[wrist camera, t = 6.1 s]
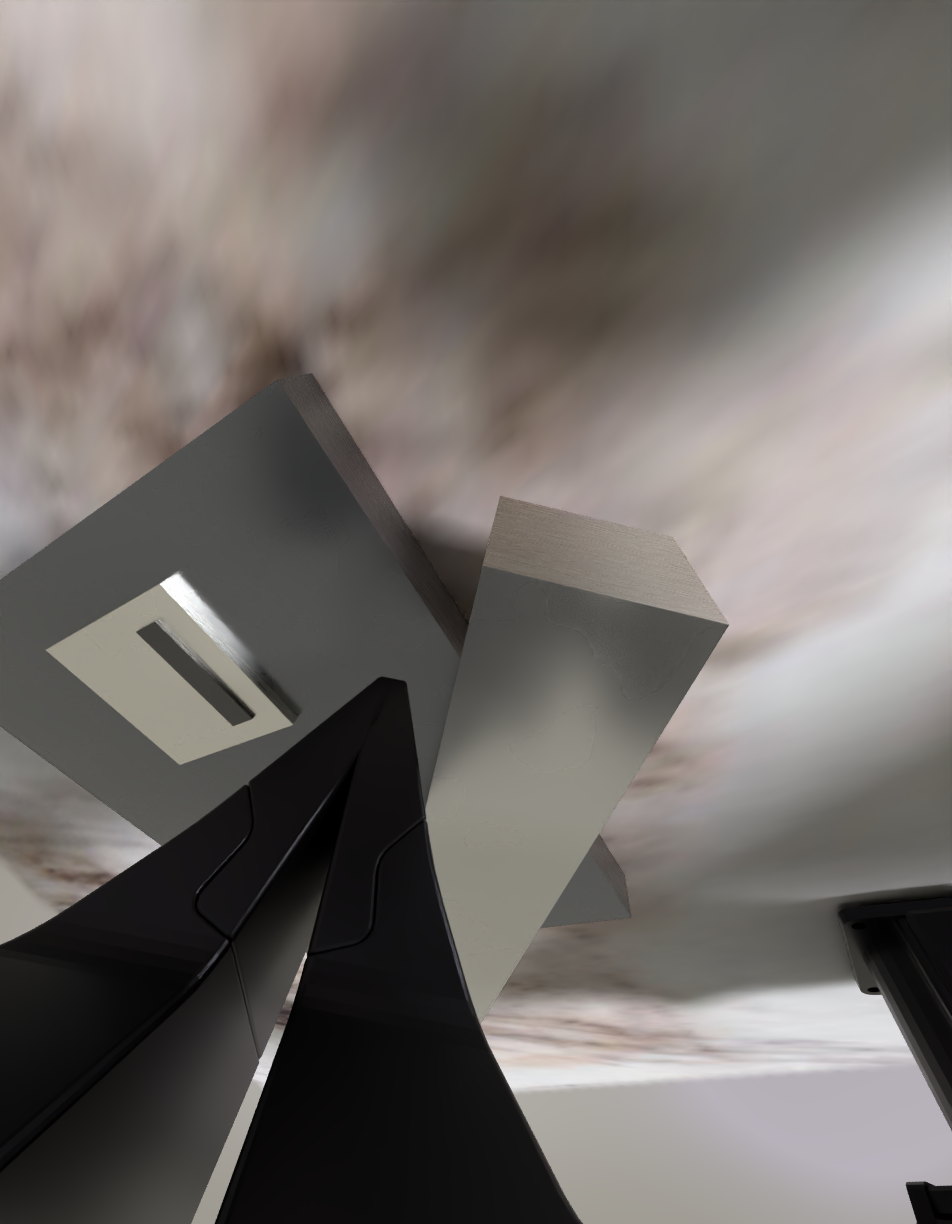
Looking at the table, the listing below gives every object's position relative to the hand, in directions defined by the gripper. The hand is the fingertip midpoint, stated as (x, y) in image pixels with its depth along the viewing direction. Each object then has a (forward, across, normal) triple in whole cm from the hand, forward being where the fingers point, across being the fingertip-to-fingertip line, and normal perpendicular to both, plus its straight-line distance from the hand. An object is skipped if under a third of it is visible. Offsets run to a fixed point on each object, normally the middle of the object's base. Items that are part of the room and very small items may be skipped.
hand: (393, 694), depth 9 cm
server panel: (+4, +3, +8) cm, 9 cm away
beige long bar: (+1, -3, +6) cm, 7 cm away
